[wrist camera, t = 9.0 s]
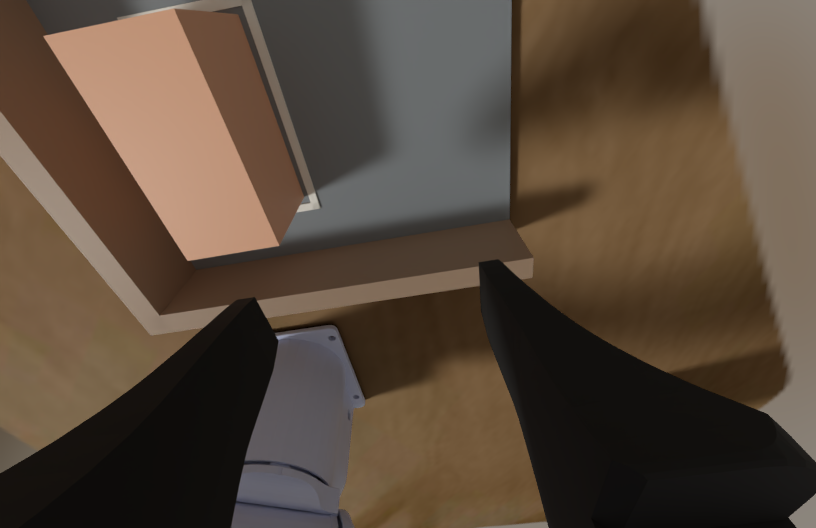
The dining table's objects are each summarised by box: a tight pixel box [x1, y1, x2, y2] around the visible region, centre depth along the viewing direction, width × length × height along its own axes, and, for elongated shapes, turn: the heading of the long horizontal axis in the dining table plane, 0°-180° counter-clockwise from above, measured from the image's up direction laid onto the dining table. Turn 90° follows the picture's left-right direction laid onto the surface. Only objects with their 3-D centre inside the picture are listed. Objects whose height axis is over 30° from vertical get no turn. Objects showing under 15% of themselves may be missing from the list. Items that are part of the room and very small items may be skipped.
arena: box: [0, 0, 534, 335], centre depth 15 cm, size 16×20×4 cm
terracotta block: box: [43, 9, 304, 261], centre depth 14 cm, size 8×4×5 cm, turn 9°
